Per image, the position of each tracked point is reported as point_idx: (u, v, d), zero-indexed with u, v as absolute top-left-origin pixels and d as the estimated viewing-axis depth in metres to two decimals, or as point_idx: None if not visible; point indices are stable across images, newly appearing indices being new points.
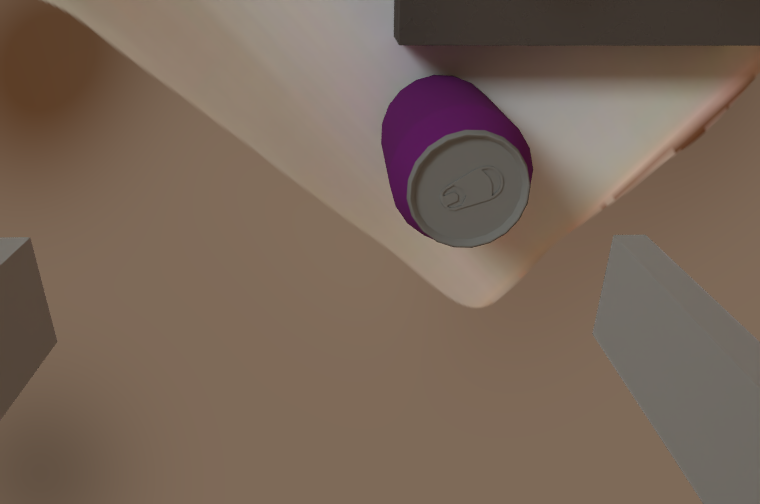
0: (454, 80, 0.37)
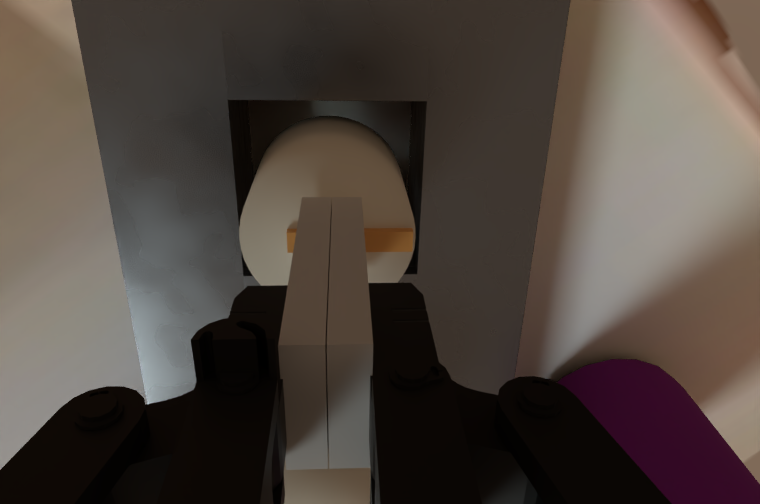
0: None
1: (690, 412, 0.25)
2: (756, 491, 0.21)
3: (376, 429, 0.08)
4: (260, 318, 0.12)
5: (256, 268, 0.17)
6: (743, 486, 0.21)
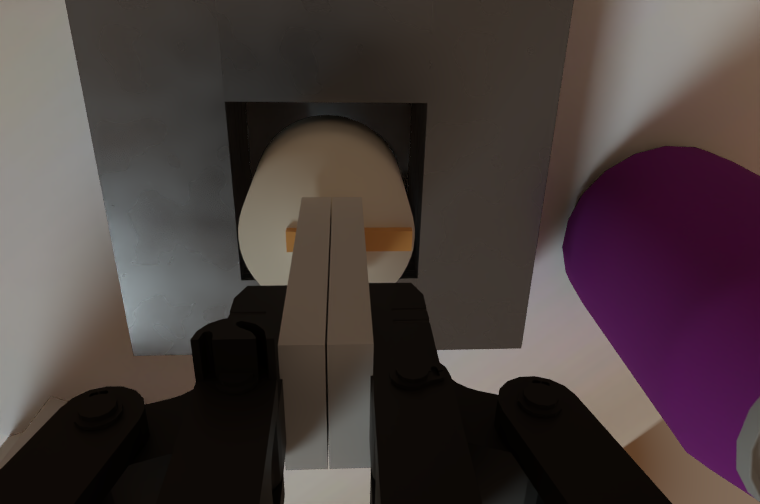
0: (583, 246, 0.22)
1: None
2: None
3: (377, 429, 0.08)
4: (260, 318, 0.12)
5: None
6: None
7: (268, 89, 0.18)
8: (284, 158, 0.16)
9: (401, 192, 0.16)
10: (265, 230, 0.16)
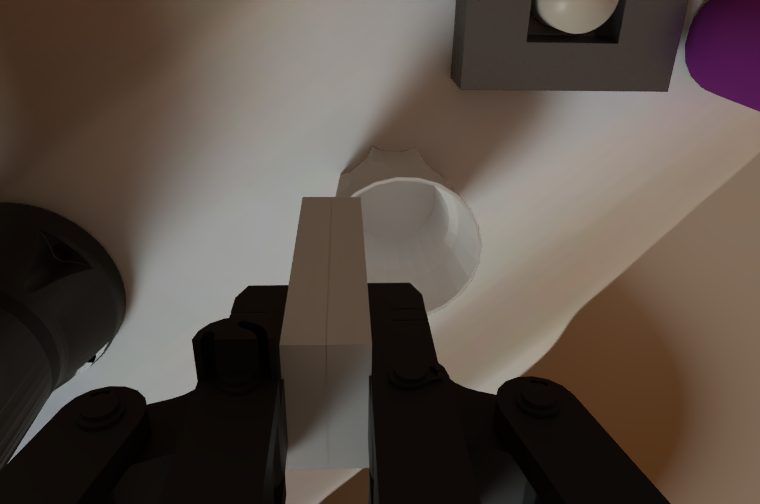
0: (703, 33, 0.40)
1: None
2: None
3: (375, 429, 0.08)
4: (261, 318, 0.12)
5: None
6: None
7: None
8: None
9: None
10: None
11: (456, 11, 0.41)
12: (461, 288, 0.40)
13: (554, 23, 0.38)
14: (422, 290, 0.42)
